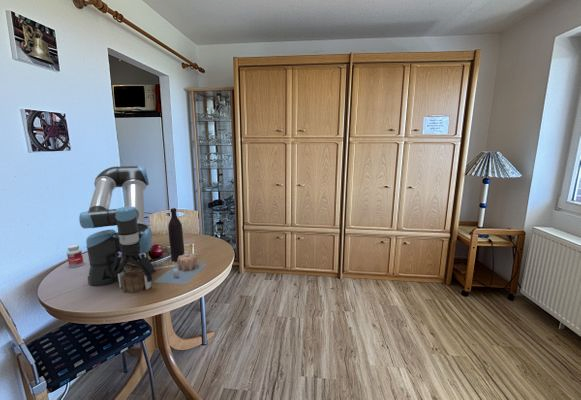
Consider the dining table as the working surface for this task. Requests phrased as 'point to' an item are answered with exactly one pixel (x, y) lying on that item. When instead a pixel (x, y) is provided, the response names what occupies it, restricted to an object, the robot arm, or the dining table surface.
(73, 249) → the pill bottle
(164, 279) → the gear board
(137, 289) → the gear
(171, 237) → the wine bottle
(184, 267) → the gear
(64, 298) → the dining table surface
